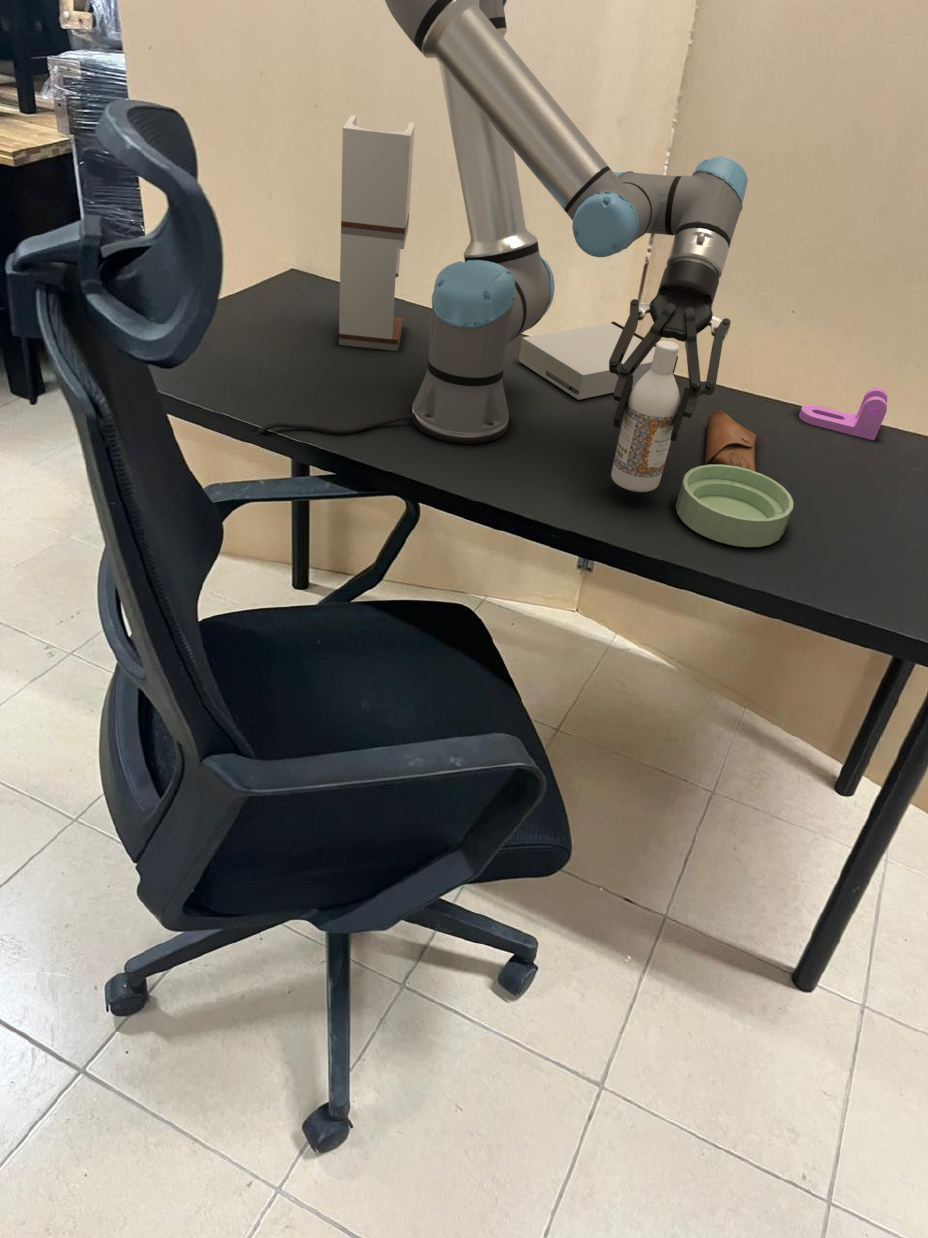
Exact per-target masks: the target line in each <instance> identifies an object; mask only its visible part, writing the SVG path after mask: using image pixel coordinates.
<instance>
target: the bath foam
mask: <svg viewBox="0 0 928 1238" xmlns="http://www.w3.org/2000/svg"><path fill="white" fill-rule="evenodd" d="M679 350H680V346H679V344H678V343H676V342H674V341H670V340H659V342H657V343H656V348H655V352H654V356H653V360H652V365H651V369H650V370H649V371H648V372H647V373H646V374H645V375H644V376H642V377H641V378H640V379H639V381H638V382H637V383H636V384H635V385H634V387H633V389H631V392H630V395H629V398H628V401H627V405H626V408H625V411H624V415H623V418H622V421H621V426H620V430H619V431H620V432H619V436H618V440H617V445H616V449H615V453H614V458H613V463H612V468H611V473H610V475H611V479H612V481H613V482H614V483H615V484H616V485H617V486H619V487H620V488H622V489H625V490H627V491H630V492H636V493H646V492H651V491H655V490H656V489H657V488H658V487H659V486H660V483H661V479H662V475H663V472H664V468H665V465H666V461H667V457H668V454H669V449H670V446H671V443H672V441H671V440H670V439H671V433H672V429H673V426H674V423H675V419H676V416H677V413H678V409H679V406H680V403H681V396H680V390H679V387H678V383H677V381H676V378H675V376H674V375H673V370H674V366H675V362H676V358H677V356H678V353H679Z"/></svg>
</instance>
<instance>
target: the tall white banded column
mask: <svg viewBox="0 0 928 1238" xmlns="http://www.w3.org/2000/svg"><path fill="white" fill-rule="evenodd" d="M357 117H358V116H357V115H353V114H351V115H350V116H349V118H348V119H347V121H346V122H345V124H344V126H343V127H342V147H341V149H342V150H341V206H340V207H341V208H340V213H341V214H340V262H339V267H340V268H339V310H338V311H339V313H338V314H339V316H338V317H339V318H338V319H339V320H338V345H339V346H348V347H356V348H366V349H374V350H376V349H377V350H385V351H394V352H398V351H399V346H400V341H401V337H402V331H403V323H404V322H403V321H404V320H403V319H404V317H400V316H394V312H395V295H396V278H398V277H399V276H400V262H401V250H404V249H405V245H406V241H407V237H408V234H409V226H410V225H409V223H410V209H411V208H410V207H411V193H412V192H411V190H412V176H413V175H412V174H413V161H414V160H413V159H414V158H413V157H414V144H415V143H414V142H415V129H416V128H415V127H416V123H415V122H411V121H410V122H409V123H408V126H407V128H406V129H405V130H399V131H385V130H383V131H382V130H373V129H369V128H363V127H360V126H357Z"/></svg>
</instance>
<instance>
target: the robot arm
mask: <svg viewBox="0 0 928 1238" xmlns="http://www.w3.org/2000/svg"><path fill="white" fill-rule="evenodd" d="M384 1H385V2H384V3H385V5H386V7H387V9H388V10H389V12H390V14H391V16H392V18H393V19H394V20H395V22H396V23H397V24H398V26H399V27H400V28H401V30H402V31H403V33H404V34H405V35H406V37H407V38H408V39H409V40H410V42H411V43H412V44H413V45H414V46H415V47H416V48H417V49H418V51H419V52H420V53H421V54H422V56H424V58H426V59H436V60H437V62H438V66H439V70H440V71H439V72H440V76H441V81H442V86H443V92H444V93H443V94H444V98H445V105H446V109H447V114H448V115H447V116H448V120H449V125H450V129H451V130H450V132H451V137H452V142H453V147H454V148H453V149H454V153H455V159H456V165H457V169H458V175H459V180H460V186H461V187H460V188H461V192H462V197H463V204H464V209H465V213H466V219H467V225H468V231H469V237H470V240H469V241H470V242H469V243H468V245H467V246H466V248H465V250H464V251H463V260H464V261H462V260H461V261H456V262H453V263H450V264H448V265H446V266H445V267H443V268H442V269H441V270H440V271H439V272H438V274H437V275H436V278H435V281H434V287H433V292H432V295H431V317H430V318H431V320H430V329H429V330H430V331H429V341H428V342H429V343H428V356H427V358H428V359H427V369H426V373H425V376H424V378H423V380H422V383H421V385H420V387H419V389H418V392H417V394H416V397H415V399H414V401H413V403H412V408H411V409H412V410H411V413H408V414H402V415H399V416H394V417H391V418H385V419H382V420H378V421H375V422H373V421H372V422H369V423H366V424H363V425H359V426H355V427H346V428H335V427H328V426H322V425H319V424H318V425H317V424H312V423H296V422H285V421H284V422H283V421H281V422H278V421H277V422H271V423H267V424H265V425H263V426H262V427H261V428H259V429H258V430H257V431H256V432H254V436H255V437H260V436H262V435H263V434H264V433H266V432H267V431H269V430H271V429H277V428H287V429H305V430H313V431H318V432H324V433H328V434H329V433H330V434H352V433H358V432H362V431H366V430H369V429H373V428H377V427H382V426H386V425H389V424H394V423H397V422H402V421H406V420H411V421H412V423H413V425H414V426H415V427H416V428H417V429H418V430H419V431H420V432H422V433H423V434H424V435H427V436H429V437H430V438H434V439H437V440H440V441H443V442H448V443H454V444H461V445H462V444H463V445H475V444H476V445H477V444H484V443H489V442H492V441H495V440H497V439H499V438H501V437H502V436H504V435H505V434H506V433H507V430H508V426H509V419H510V413H509V408H508V403H507V398H506V392H505V387H504V381H503V378H504V370H505V364H506V359H507V358H506V356H507V348H508V344H509V343H510V342H512V341H513V340H515V339H516V338H518V337H519V336H521V335H522V334H523V333H525V332H526V331H528V330H531V329H533V328H534V327H535V326H536V325H537V324H538V323H539V322H540V321H541V320H542V318H543V317H544V316H545V315H546V313H548V311H549V309H550V307H551V305H552V303H553V299H554V296H555V289H556V288H555V285H556V284H555V277H554V274H553V271H552V268H551V266H550V264H549V263H548V261H547V260H546V259H544V258H543V257H542V255H541V254H540V247H539V239H538V237H537V236H535V235H534V234H533V233H532V232H530V231H529V230H528V229H527V227H526V221H525V215H524V208H523V201H522V194H521V187H520V181H519V180H520V179H519V175H518V169H517V162H516V161H517V160H516V154H517V156H518V157H519V159H521V160H522V161H523V163H524V164H525V165H526V166H527V168H528V169H529V170H530V172H532V173H533V175H534V176H535V178H536V179H537V180H538V181H539V182H540V184H542V186H543V187H544V188H545V189H546V190H547V192H548V193H549V194H550V195H551V196H552V198H553V199H554V200H555V201H556V202H557V204H558V205H559V206H560V207H561V208H562V210H563V211H564V212H565V213H566V214H567V216H568V217H569V218H570V219H571V221H572V223H571V224H572V233H573V238H574V241H575V243H576V245H577V246H578V247H579V248H580V250H582V252H583V253H585V254H586V255H588V256H591V257H594V258H607V257H611V256H613V255H615V254H619V253H620V252H622V251H624V250H626V249H628V248H629V247H630V246H631V245H632V244H633V243H634V242H635V241H637V240H638V239H640V238H641V237H643V236H644V235H646V234H651V235H665V236H674V237H673V241H672V244H671V247H670V251H669V254H668V257H667V259H666V266H665V268H664V270H663V274H662V276H661V280H660V283H659V286H658V290H657V293H656V295H655V296H654V298H652V300H651V301H650V302H640V300H639V299H637V298H633V299H632V300H630V303H629V316H628V317H627V319H626V321H625V324H624V325H623V327H624V328H623V331H622V333H621V335H620V337H619V340H618V342H617V344H616V346H615V348H614V351H613V353H612V355H611V357H610V360H609V371H610V372H611V373H615V374H616V375H618V380H617V383H616V387H615V390H614V392H613V400H614V401H617V402H618V404H617V408H616V411H615V415H614V418H613V427H614V428H618V429H621V425H622V422H623V418H624V414H625V409H626V405H627V401H628V398H629V395H630V393H631V391H632V385H633V375H632V374H633V373H634V371H635V370H636V369H637V367H638V366H639V365H640V363H641V362H642V361H643V360H644V358H645V357H646V356H647V354H648V353H649V352H650V351H651V349H652V348H653V347H654V345H655V344H657V342H659V341H661V339H662V338H665V339H674V340H677V341H678V342H683V343H684V348H685V349H684V350H685V354H686V364H687V374H688V385H689V386H688V387H687V386H685V387H684V390H683V393H682V396H681V398H680V406H679V409H678V413H677V416H676V419H675V423H674V426H673V429H672V433H671V439H670V440H671V442H677V439H678V437H679V436H678V435H679V432H680V429H681V426H682V421H683V419H684V418H688V419H691V418H692V417H693V415H694V412H695V409H696V405H697V402H698V398H699V397H701V396H702V395H707V396H712V395H714V392H715V389H716V385H717V381H718V374H719V369H720V362H721V361H720V360H721V355H722V350H723V342H724V340H725V339H726V337H727V335H728V333H729V331H730V327H731V324H732V321H731V319H730V318H727V317H725V318H723V319H721V318H719V317H716V316H714V313H713V308H712V307H713V305H714V301H715V298H716V294H717V290H718V288H719V284H720V279H721V277H722V274H723V271H724V268H725V264H726V261H727V258H728V255H729V251H730V250H729V249H730V246H731V243H732V239H733V237H734V233H735V230H736V227H737V224H738V220H739V218H740V215H741V213H742V212H741V211H743V207H744V206H743V203H744V198H745V194H746V191H747V186H748V181H749V180H748V176H747V173H746V170H745V168H743V167H742V165H741V164H740V163H738V162H737V161H735V160H733V159H731V158H728V157H723V156H713V157H711V158H709V159H703V160H702V161H700V162H699V163H698V164H697V166H696V167H695V169H694V171H693V172H692V175H667V174H657V173H644V172H643V173H642V172H634V171H632V170H627V171H624V172H623V171H613V170H612V169H611V168H610V166H609V165H608V163H607V162H606V161H605V160H604V159H603V157H602V156H601V154H599V152H598V151H597V150H596V148H595V147H594V146H593V145H592V144H591V142H589V140H588V139H587V138H586V137H585V135H584V134H583V133H582V132H581V130H580V129H579V128H578V127H577V125H576V124H575V123H574V122H573V120H572V119H571V118H570V117H569V116H568V114H567V113H566V112H565V111H564V110H563V108H562V107H561V106H560V104H559V103H558V102H557V101H556V100H555V99H554V97H553V96H552V94H550V93H549V91H548V90H547V89H546V87H545V86H544V85H543V84H542V82H541V81H540V80H539V79H538V78H537V77H536V76H535V74H534V72H532V70H531V69H530V67H528V66H527V64H526V63H525V62H524V61H523V60H522V58H521V57H520V56H519V54H518V53H517V52H516V51H515V49H514V48H513V47H512V46H511V45H510V44H509V42H508V41H507V40H506V39H505V36H506V34H507V32H508V28H507V20H506V13H505V6H506V4H507V1H508V0H384ZM515 153H516V154H515ZM647 314H649V315H650V318H651V319H652V323H653V324H652V325H651V326H650V328H649V330H648V332H647V333H646V334H645V336H643V339H642V341H641V342H640V343H639V345H638V346H637V347H636V349H635V350H634V351H633V352H632V354H631V355H630V356H629V358H628V359H627V360H626V361H625V363H624V364H622V363H621V362H622V360H623V358H624V355H625V353H626V351H627V349H628V346H629V344H630V342H631V340H632V337H633V335H634V333H636V331H637V328H638V325H639V321H643V320H644V319H645V316H646V315H647ZM708 326H709V328H710V329H711V330H710V335H711V336H712V337H713V341H712V345H711V348H710V349H711V351H710V357H709V363H708V369H707V375H706V380H704V381H702V380H701V370H700V361H699V349H698V334H700V333H701V332H702V331H703V330H704V329H707V327H708ZM683 417H684V418H683Z"/></svg>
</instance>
